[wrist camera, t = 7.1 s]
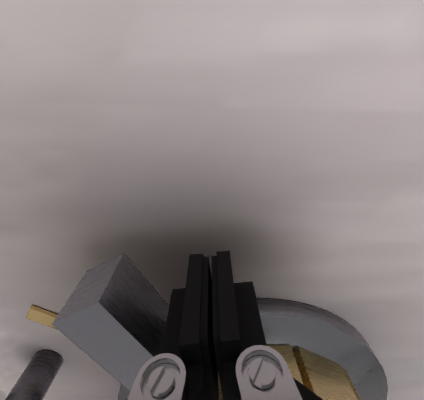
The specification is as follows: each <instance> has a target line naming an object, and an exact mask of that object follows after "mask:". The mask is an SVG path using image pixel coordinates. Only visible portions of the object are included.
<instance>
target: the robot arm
mask: <svg viewBox="0 0 424 400" xmlns="http://www.w3.org/2000/svg"><path fill="white" fill-rule="evenodd" d="M218 373H219V379H220V385H221V391H222V397H223V400H323V399H322V398H320V397H319V396H318V395H316V394H315V393H314V392H312V391H311V390H310V389H308V388H307V387H306V386H304V385H303V384H302V383H300V382H299V381H297V380H296V379H295V378H293V377H292V374H291V372H290V370H289V368H288V365H287V363H286V362H285V360H284V358H283V357H282V355H280V354H279V353H278V352H277V351H276V350H274V349H273V348H271V347H269V346H267V344H266V340H265V336H264V331H263V327H262V322H261V318H260V313H259V309H258V304H257V300H256V296H255V291H254V287H253V283H252V282H242V283H233V275H232V267H231V259H230V251H222V252H217V256H212V277H211V270H210V263H209V257H204V255H203V254H194V255H190V257H189V265H188V273H187V281H186V288H181V289H173V291H172V294H171V300H170V305H169V310H168V316H167V321H166V326H165V332H164V337H163V342H162V348H161V353H160V354H159V355H156V356H154V357H152V358H151V359H149V360H148V361H147V362H146V363H145V364H144V365H143V366H142V367H141V369H140V371H139V372H138V374H137V376H136V379H135V381H134V384H133V386H132V389H131V391H130V394H129V396H128V398H127V399H126V400H219V383H218Z"/></svg>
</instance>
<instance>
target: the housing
mask: <svg viewBox="0 0 424 400" xmlns="http://www.w3.org/2000/svg"><path fill="white" fill-rule="evenodd" d="M256 300H257V304H258V309H259V313H260V318H261V322H262V327H263V331H264V336H265V340H266V344H267V345H291V347H292V350H293V351H294V350H295V349H297V348H298V347H300V348H302V349H305V350H307V351H309V352H312V353H314V354H316V355H318V356H321V357H323V358H325V359H328V360H330V361H332V362H335V363H337V364H339V365H341V366H342V368H343V369H346V371H347V373H348V375H349V377H350V379H351V381H352V383H353V385H354V386H355V388H356V390H357V392H358V394H359V396H360V398H361V400H386V399H387V390H388V387H387V379H386V376H385V373H384V370H383V368H382V366H381V364H380V363H379V361H378V360H377V358H376V356H375V355H374V353H373V352H372V350H371V348H370V347H369V345H368V344H367V342H366V341H365V339H364V338H363V336H362V335H361V334H360V333H359V332H358V331H357V330H356V329H355V328H354V327H353V326H351V325H350V324H348V323H347V322H346V321H344V320H343V319H341V318H339V317H338V316H336V315H334V314H332V313H330V312H328V311H325V310H322V309H320V308H317V307H314V306H311V305H307V304H303V303H298V302H294V301H287V300H279V299H256ZM57 316H58V315H57V314H55V313H52V312H49V311H47V310H44V309H41V308H39V307H36V306H33V305H32V306H31V308H30V309H29V312H28V314H27V316H26V318H27V319H30V320H33V321H36V322H38V323H41V324H44V325H47V326H49V327H52V328H55V329H57V328H56V327H55V326H54V325H52V323H53V321H54V320H55V319H56V317H57ZM62 362H63V360H62V358H61V356H60V355H59V354H57V353H55V352H53V351H49V350H42V351H38V352H37V353H36V354H35V355H34V357H33V358H32V360H31V361H30V363H29V364H28V366H27V367H26V369H25V370H24V372H23V373H22V375H21V377H20V378H19V380H18V381H17V383H16V384H15V386H14V387H13V389H12V390H11V392H10V393H9V395H8V396H7V398H6V399H5V400H43V398H44V396H45V394H46V393H47V391H48V389H49V387H50V385H51V383H52V381H53V379H54V378H55V376H56V374H57V372H58V370H59V368H60V366H61V365H62ZM129 394H130V390H128V389H127V388H126V387H125V386H124V385H123V384H121V387H120V391H119V395H118V400H126V399H127V398H128V396H129Z"/></svg>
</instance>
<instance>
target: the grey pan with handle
mask: <svg viewBox="0 0 424 400" xmlns="http://www.w3.org/2000/svg"><path fill="white" fill-rule="evenodd" d="M168 310H169V305H168V304H167V302H166V301H165V300H164V299H163V298H162V297H161V295H160V294H159V293H158V292H157V291H156V290H155V288H154V287H153V286H152V285H151V284H150V283H149V281H148V280H147V279H146V278H145V277H144V275H143V274H142V273H141V272H140V271H139V270H138V268H137V267H136V266H135V265H134V264H133V263H132V261H131V260H130V259H129V258H128V257H127V256H126V254H125V253H122V254H120V255H118V256H116V257H114V258H112V259H110V260H108V261H106V262H105V263H103V264H101V265H99V266H97V267H95V268H93V269H91V270H89V271H87V272H86V274H85V275H84V277H83V278H82V280H81V281H80V283H79V284H78V286H77V287H76V289H75V290H74V292H73V293H72V295H71V296H70V298H69V299H68V301H67V302H66V304H65V305H64V307H63V308H62V310H61V311H60V313H59V314H58V316H57V317H56V319H55V320H54V321H53V323H52V325H54V326H55V327H56V328H57V329H58V330H59V331H61V332H62V333H63V334H64V335H65V336H66V337H68V338H69V339H70V340H71V341H72V342H73V343H75V344H76V345H77V346H78V347H79V348H80V349H82V350H83V351H84V352H85V353H86V354H87V355H89V356H90V357H91V358H92V359H93V360H94V361H96V362H97V363H98V364H99V365H100V366H102V367H103V368H104V369H105V370H106V371H107V372H109V373H110V374H111V375H112V376H113V377H114V378H116V379H117V380H118V381H119V382H120V383H121V384H123V385H124V386H125V387H126V388H127V389H128V390H130V391H131V389H132V386H133V384H134V381H135V379H136V376H137V374H138V372H139V371H140V369H141V367H142V366H143V365H144V364H145V363H146V362H147V361H148V360H149V359H151V358H152V357H154V356H156V355H159V354H160V353H161V348H162V342H163V337H164V332H165V326H166V321H167V316H168ZM267 346H269V347H271V348H273V349H274V350H276V351H277V352H278V353H279V354H280V355H282V357H283V358H284V360H285V362H286V363H287V365H288V368H289V370H290V372H291V374H292V377H293V378H295V379H296V380H297V381H299V382H300V383H302V384H303V385H304V386H306V387H307V388H308V389H310V390H311V391H312V392H314V393H315V394H316V395H318V396H319V397H320V398H322V399H323V400H361V398H360V396H359V394H358V392H357V390H356V388H355V386H354V385H353V383H352V381H351V379H350V377H349V375H348V373H347V371H346V369H343V368H342V366H341V365H339V364H337V363H335V362H332V361H330V360H328V359H325V358H323V357H321V356H318V355H316V354H314V353H312V352H309V351H307V350H305V349H302V348H300V347H298V348H297V349H295V350H294V351H293V350H292V347H291V345H267ZM218 383H219V400H223V397H222V391H221V385H220V379H219V373H218Z"/></svg>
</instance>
